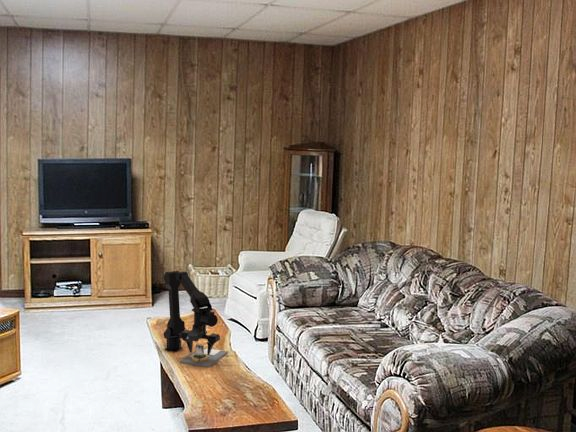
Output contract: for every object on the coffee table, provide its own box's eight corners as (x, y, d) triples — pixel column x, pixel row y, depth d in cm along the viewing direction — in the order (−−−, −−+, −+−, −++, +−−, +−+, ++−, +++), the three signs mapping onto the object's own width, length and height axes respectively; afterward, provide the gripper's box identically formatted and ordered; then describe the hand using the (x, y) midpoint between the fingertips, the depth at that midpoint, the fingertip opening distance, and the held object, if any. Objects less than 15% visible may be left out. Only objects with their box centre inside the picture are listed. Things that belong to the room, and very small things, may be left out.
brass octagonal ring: (187, 360, 323) (187, 357, 323) (195, 355, 331) (195, 352, 330) (203, 363, 320) (203, 360, 320) (211, 357, 328) (211, 354, 328)
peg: (193, 360, 324) (194, 345, 323) (197, 357, 328) (197, 343, 327) (201, 361, 323) (201, 346, 322) (205, 358, 327) (205, 344, 326)
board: (179, 363, 322) (179, 361, 322) (200, 349, 343) (200, 347, 343) (208, 367, 317) (208, 365, 317) (227, 353, 338) (227, 351, 338)
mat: (199, 353, 334) (199, 352, 334) (206, 348, 341) (206, 348, 341) (214, 355, 331) (214, 355, 331) (220, 350, 339) (221, 350, 339)
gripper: (174, 323, 319) (174, 356, 320) (210, 328, 313) (210, 361, 314) (185, 318, 329) (185, 349, 331) (220, 322, 323) (220, 354, 325)
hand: (199, 353), depth 325 cm, fingers open, 9 cm apart
